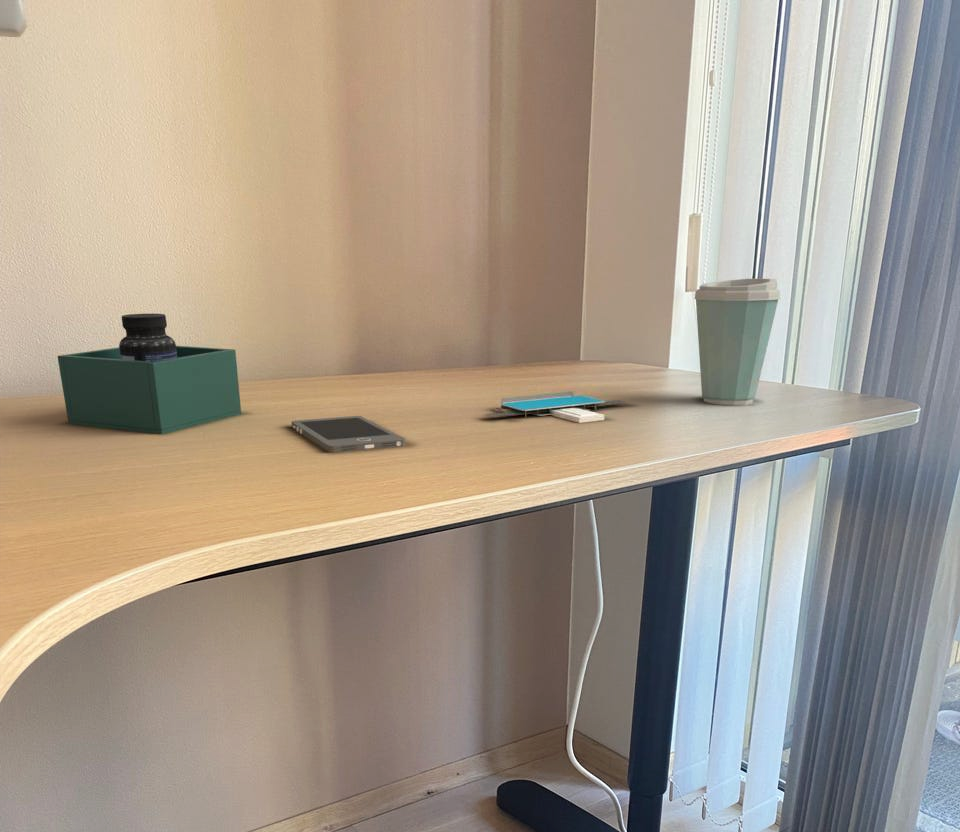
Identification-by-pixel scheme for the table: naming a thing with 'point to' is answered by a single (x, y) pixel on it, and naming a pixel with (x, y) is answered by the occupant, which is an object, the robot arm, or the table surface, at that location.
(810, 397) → the table surface
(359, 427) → the smartphone
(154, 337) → the pill bottle
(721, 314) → the disposable coffee cup
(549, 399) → the teal tabletop platform
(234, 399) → the open box
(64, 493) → the table surface
